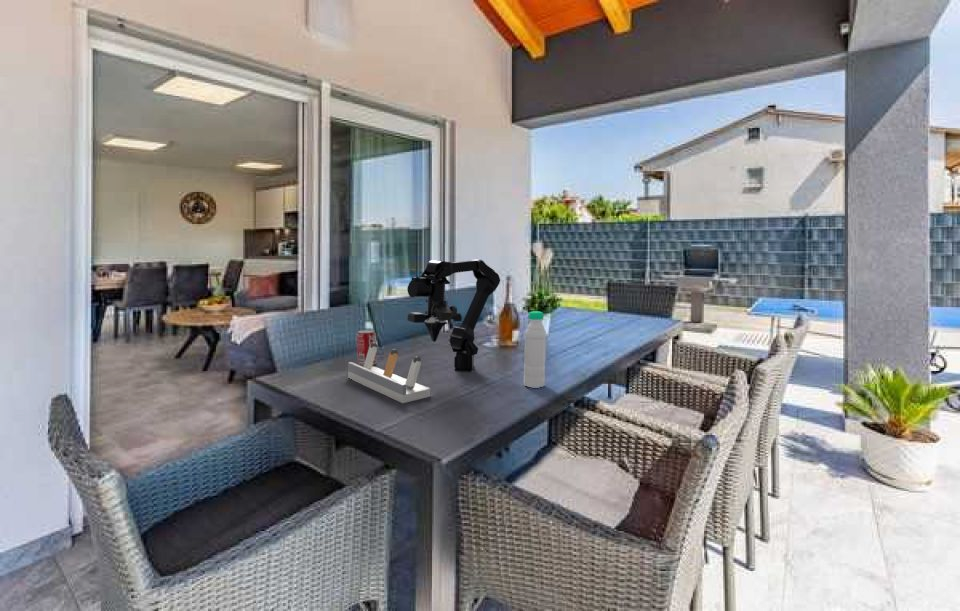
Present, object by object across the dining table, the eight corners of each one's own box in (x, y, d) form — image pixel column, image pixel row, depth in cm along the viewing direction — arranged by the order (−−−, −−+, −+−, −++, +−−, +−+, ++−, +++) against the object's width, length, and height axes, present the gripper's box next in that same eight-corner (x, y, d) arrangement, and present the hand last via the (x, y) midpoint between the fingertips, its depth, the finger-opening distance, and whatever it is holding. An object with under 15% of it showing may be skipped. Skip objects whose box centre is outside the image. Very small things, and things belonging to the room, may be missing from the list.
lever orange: (386, 378, 162) (395, 348, 163) (392, 380, 159) (400, 350, 160) (380, 377, 160) (389, 347, 161) (386, 379, 158) (394, 349, 159)
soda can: (371, 367, 184) (371, 333, 182) (354, 366, 185) (353, 332, 183) (379, 362, 191) (379, 329, 189) (362, 361, 192) (361, 328, 190)
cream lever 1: (367, 370, 171) (375, 342, 172) (371, 372, 169) (380, 343, 170) (361, 369, 170) (369, 340, 171) (365, 371, 167) (374, 342, 168)
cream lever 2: (409, 387, 152) (418, 356, 153) (415, 390, 150) (424, 358, 151) (402, 386, 150) (412, 354, 152) (408, 388, 148) (418, 356, 149)
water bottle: (531, 390, 158) (533, 314, 155) (519, 384, 165) (521, 310, 161) (548, 387, 162) (551, 312, 158) (536, 381, 168) (539, 309, 164)
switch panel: (374, 373, 176) (373, 358, 175) (430, 396, 151) (430, 379, 150) (348, 378, 169) (347, 362, 169) (402, 403, 144) (402, 385, 144)
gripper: (423, 299, 158) (421, 347, 159) (471, 299, 168) (468, 344, 170) (407, 296, 167) (405, 341, 168) (454, 296, 177) (452, 338, 179)
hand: (434, 341), depth 171 cm, fingers closed
